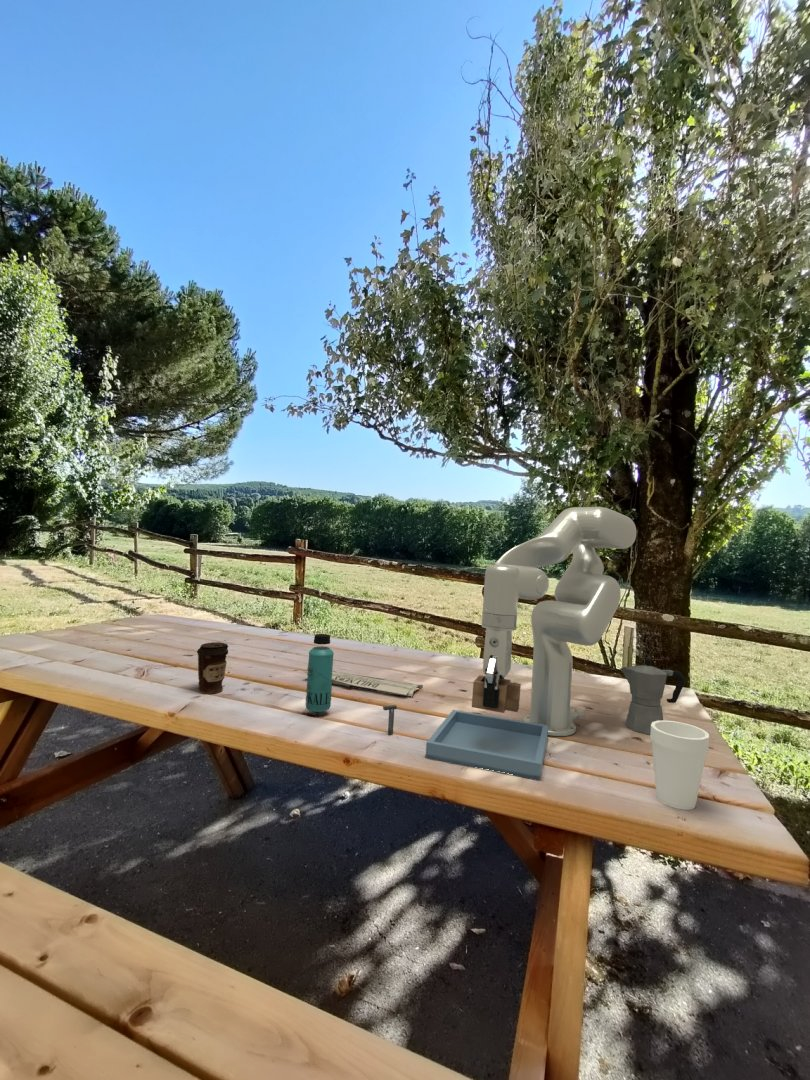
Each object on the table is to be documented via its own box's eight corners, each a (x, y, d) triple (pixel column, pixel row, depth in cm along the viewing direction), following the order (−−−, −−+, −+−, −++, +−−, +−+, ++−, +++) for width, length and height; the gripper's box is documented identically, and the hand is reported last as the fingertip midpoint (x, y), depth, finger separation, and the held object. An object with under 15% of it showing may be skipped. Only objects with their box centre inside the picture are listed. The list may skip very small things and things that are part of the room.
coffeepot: (619, 731, 128) (623, 659, 128) (614, 719, 137) (617, 652, 137) (687, 740, 124) (691, 666, 124) (677, 727, 133) (681, 658, 133)
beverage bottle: (318, 707, 133) (323, 631, 133) (336, 714, 129) (340, 635, 129) (299, 713, 128) (303, 633, 128) (316, 720, 124) (321, 637, 124)
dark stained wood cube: (519, 706, 114) (521, 681, 114) (516, 715, 107) (518, 688, 107) (477, 699, 117) (479, 675, 117) (471, 707, 110) (473, 681, 110)
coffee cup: (233, 690, 143) (236, 644, 143) (208, 697, 136) (211, 649, 136) (213, 684, 148) (216, 640, 148) (188, 691, 141) (190, 644, 141)
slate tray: (452, 722, 128) (453, 709, 128) (547, 739, 120) (548, 725, 120) (425, 757, 106) (426, 742, 106) (539, 780, 98) (540, 764, 98)
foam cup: (639, 785, 98) (643, 718, 98) (690, 790, 98) (693, 722, 98) (660, 811, 89) (663, 737, 89) (715, 817, 88) (719, 741, 88)
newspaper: (422, 690, 156) (423, 678, 156) (409, 701, 144) (410, 689, 144) (319, 674, 167) (320, 663, 167) (300, 684, 155) (300, 672, 155)
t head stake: (393, 732, 119) (394, 704, 119) (395, 734, 118) (396, 706, 118) (381, 734, 117) (382, 705, 117) (383, 736, 116) (385, 707, 116)
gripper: (511, 628, 103) (504, 716, 103) (520, 619, 120) (515, 695, 119) (474, 623, 106) (468, 710, 105) (488, 615, 122) (483, 690, 122)
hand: (493, 701), depth 112 cm, fingers closed on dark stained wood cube, 6 cm apart
